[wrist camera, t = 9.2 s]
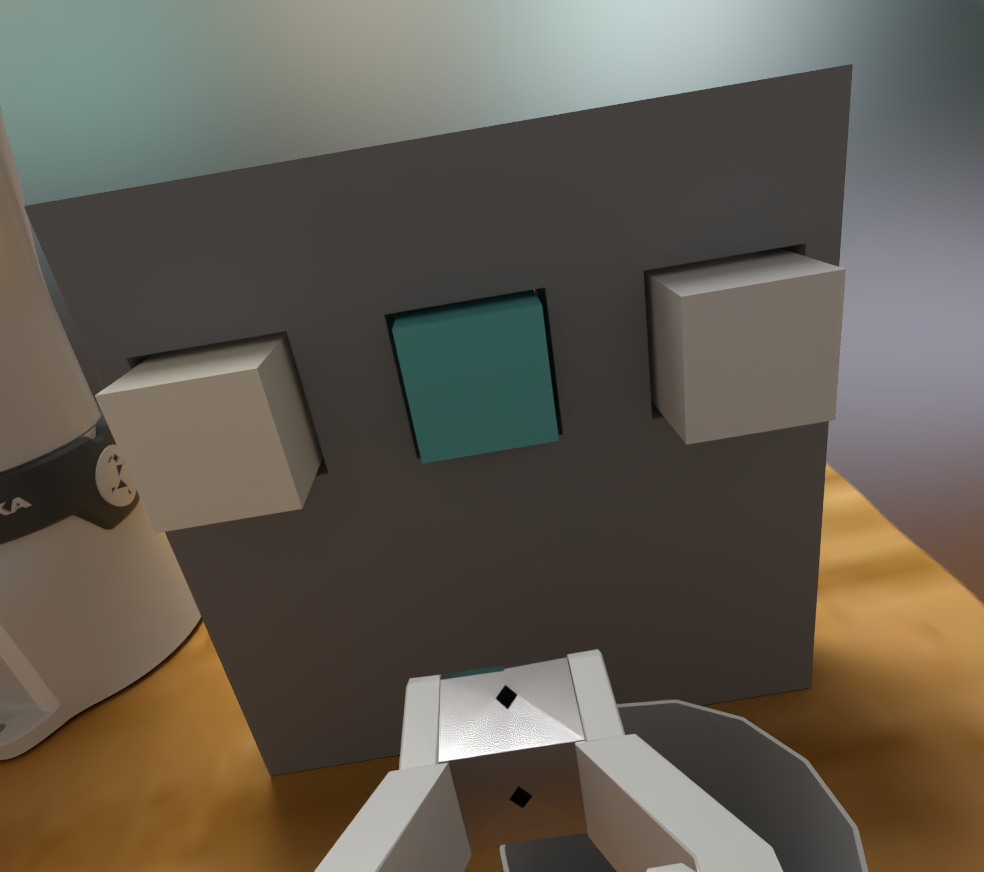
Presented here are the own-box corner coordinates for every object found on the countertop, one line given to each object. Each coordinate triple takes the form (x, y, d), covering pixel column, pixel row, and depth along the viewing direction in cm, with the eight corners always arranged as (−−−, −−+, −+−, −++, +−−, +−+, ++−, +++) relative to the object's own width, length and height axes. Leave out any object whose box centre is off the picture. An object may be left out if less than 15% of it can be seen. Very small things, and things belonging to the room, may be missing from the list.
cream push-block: (155, 533, 22) (94, 395, 20) (214, 455, 27) (171, 341, 25) (302, 508, 22) (257, 368, 20) (331, 435, 27) (298, 319, 25)
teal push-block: (421, 463, 23) (391, 329, 21) (427, 403, 29) (403, 292, 27) (558, 440, 23) (541, 304, 21) (538, 384, 29) (523, 271, 27)
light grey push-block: (686, 444, 22) (681, 296, 20) (638, 384, 27) (630, 263, 25) (835, 420, 22) (845, 269, 20) (756, 364, 27) (758, 241, 25)
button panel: (270, 776, 31) (23, 206, 20) (289, 709, 35) (88, 196, 24) (810, 687, 31) (852, 64, 20) (772, 630, 34) (790, 76, 24)
